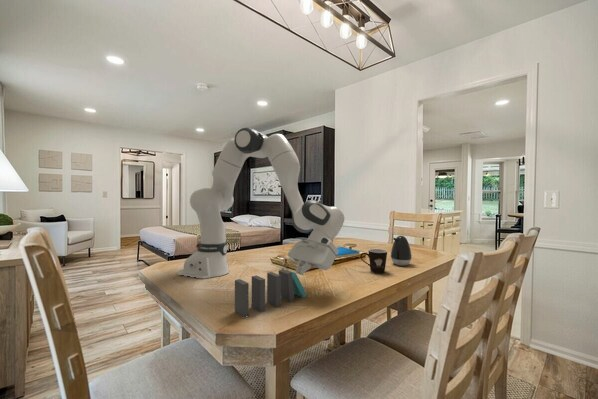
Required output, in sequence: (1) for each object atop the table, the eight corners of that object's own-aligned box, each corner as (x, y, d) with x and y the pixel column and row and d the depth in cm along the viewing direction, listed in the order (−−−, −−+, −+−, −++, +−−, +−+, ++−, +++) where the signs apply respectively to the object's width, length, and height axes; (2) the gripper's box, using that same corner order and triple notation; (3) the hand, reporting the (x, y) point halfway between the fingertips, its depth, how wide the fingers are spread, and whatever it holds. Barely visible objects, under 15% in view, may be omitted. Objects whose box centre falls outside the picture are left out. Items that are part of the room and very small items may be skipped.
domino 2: (260, 312, 84) (260, 280, 84) (251, 307, 88) (251, 276, 88) (265, 310, 85) (265, 279, 85) (256, 305, 89) (256, 275, 89)
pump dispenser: (386, 263, 145) (386, 234, 144) (400, 261, 149) (401, 233, 149) (400, 268, 135) (401, 237, 135) (415, 265, 140) (416, 236, 139)
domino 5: (303, 297, 96) (292, 276, 92) (294, 293, 100) (282, 273, 96) (306, 294, 97) (295, 273, 93) (297, 290, 101) (286, 269, 97)
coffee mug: (389, 271, 130) (389, 250, 130) (383, 275, 123) (384, 253, 123) (365, 267, 137) (366, 247, 136) (359, 271, 130) (359, 250, 129)
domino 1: (243, 318, 80) (243, 284, 80) (234, 312, 84) (234, 280, 84) (248, 316, 81) (248, 283, 81) (240, 310, 85) (240, 279, 85)
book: (359, 251, 158) (325, 255, 145) (359, 259, 158) (324, 263, 145) (340, 246, 172) (307, 249, 160) (340, 253, 173) (307, 257, 160)
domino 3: (276, 307, 88) (276, 276, 88) (267, 302, 92) (267, 272, 92) (280, 305, 89) (280, 275, 89) (271, 300, 93) (271, 271, 93)
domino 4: (290, 302, 92) (287, 273, 91) (281, 297, 96) (278, 270, 95) (294, 300, 93) (291, 272, 92) (285, 296, 97) (282, 269, 96)
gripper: (296, 234, 110) (276, 262, 104) (334, 241, 95) (313, 274, 89) (304, 244, 113) (285, 272, 107) (342, 252, 98) (323, 285, 92)
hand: (298, 273), depth 98 cm, fingers closed
